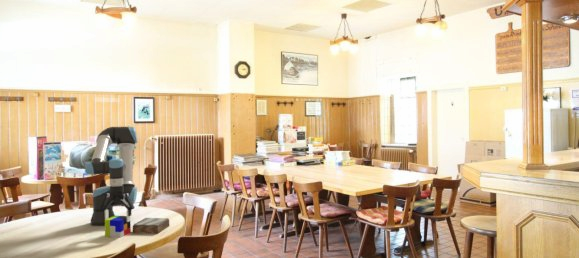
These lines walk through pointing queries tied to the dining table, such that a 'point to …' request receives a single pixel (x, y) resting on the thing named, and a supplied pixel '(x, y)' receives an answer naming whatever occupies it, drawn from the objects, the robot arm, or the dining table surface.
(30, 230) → the dining table surface
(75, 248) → the dining table surface
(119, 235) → the puzzle toy
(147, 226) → the walnut base
